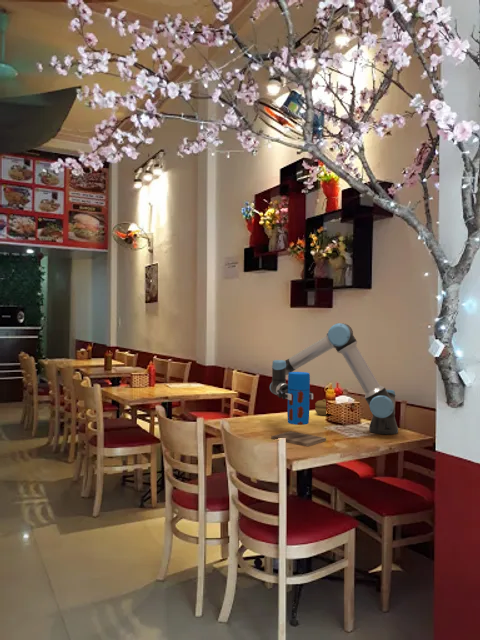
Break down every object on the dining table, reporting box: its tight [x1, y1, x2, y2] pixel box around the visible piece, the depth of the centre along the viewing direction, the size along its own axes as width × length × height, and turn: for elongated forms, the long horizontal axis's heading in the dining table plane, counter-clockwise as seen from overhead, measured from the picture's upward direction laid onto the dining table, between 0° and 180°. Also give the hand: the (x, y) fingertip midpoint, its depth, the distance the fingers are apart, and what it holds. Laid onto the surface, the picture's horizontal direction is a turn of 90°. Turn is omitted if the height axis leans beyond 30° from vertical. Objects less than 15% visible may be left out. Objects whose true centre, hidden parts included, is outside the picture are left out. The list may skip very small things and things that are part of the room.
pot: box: [314, 398, 327, 416], centre depth 330 cm, size 12×12×10 cm
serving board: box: [271, 430, 327, 447], centre depth 261 cm, size 22×16×2 cm
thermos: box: [286, 371, 311, 426], centre depth 262 cm, size 11×11×25 cm
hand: (301, 397), depth 258 cm, fingers closed on thermos, 11 cm apart
